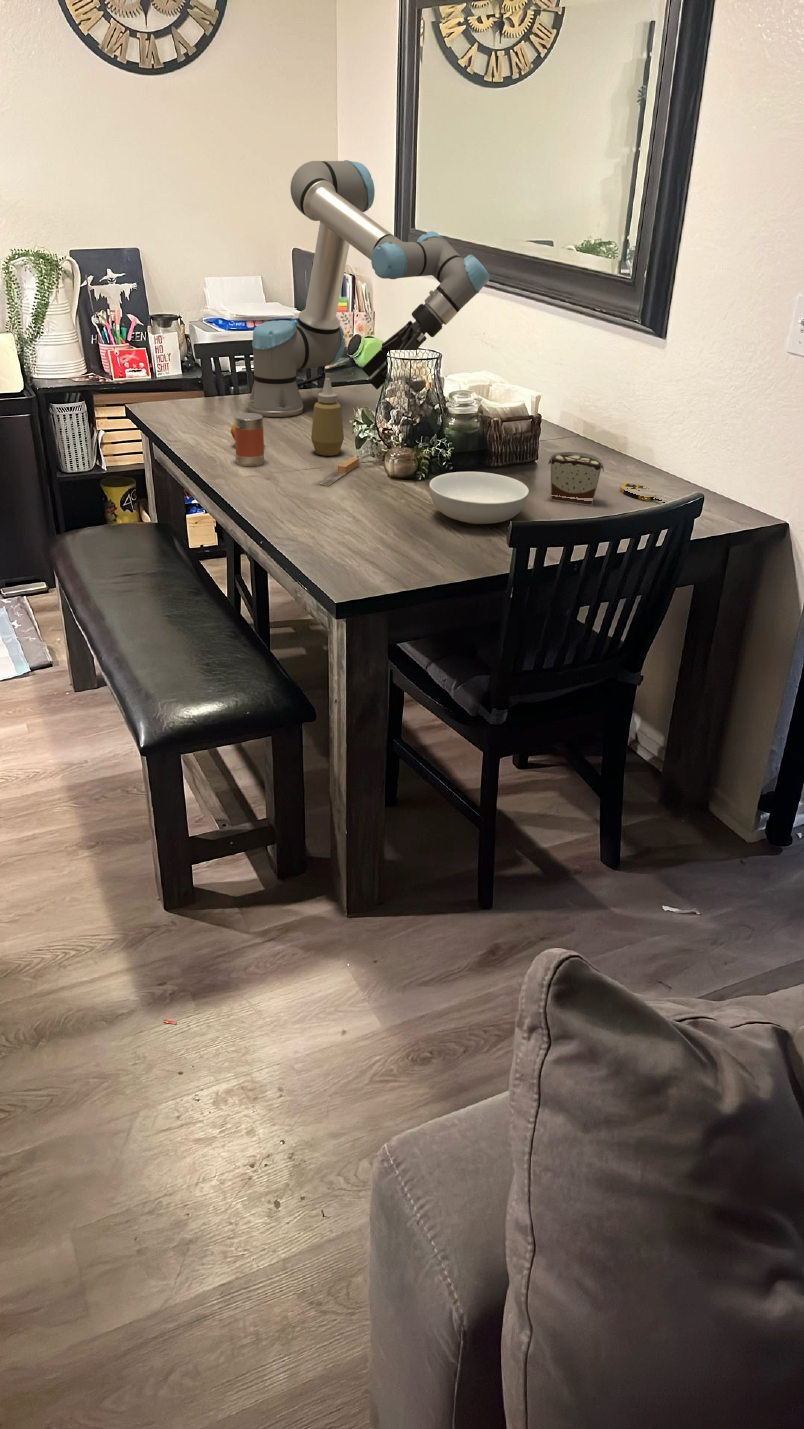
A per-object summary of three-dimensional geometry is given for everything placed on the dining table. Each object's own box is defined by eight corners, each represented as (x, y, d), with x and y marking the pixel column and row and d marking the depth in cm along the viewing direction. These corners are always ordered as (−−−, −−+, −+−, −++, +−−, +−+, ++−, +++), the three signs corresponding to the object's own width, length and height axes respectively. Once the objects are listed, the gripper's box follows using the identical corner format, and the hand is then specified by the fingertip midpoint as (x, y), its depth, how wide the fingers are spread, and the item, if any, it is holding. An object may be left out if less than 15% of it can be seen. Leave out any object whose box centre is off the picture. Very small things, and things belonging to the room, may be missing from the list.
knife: (350, 464, 257) (350, 456, 256) (359, 465, 256) (359, 458, 255) (318, 484, 242) (318, 476, 241) (328, 486, 241) (328, 478, 240)
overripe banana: (631, 480, 247) (680, 498, 237) (630, 488, 248) (678, 506, 238) (616, 483, 245) (665, 501, 234) (615, 491, 246) (663, 510, 235)
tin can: (244, 457, 259) (242, 411, 253) (269, 460, 257) (268, 414, 251) (230, 464, 253) (228, 417, 248) (256, 468, 251) (254, 421, 246)
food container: (603, 499, 241) (609, 455, 236) (598, 507, 235) (604, 462, 230) (549, 491, 244) (554, 448, 239) (544, 499, 239) (548, 455, 234)
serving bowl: (459, 540, 214) (461, 506, 211) (410, 508, 230) (411, 477, 227) (545, 527, 223) (548, 495, 219) (492, 497, 239) (494, 467, 235)
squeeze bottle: (310, 448, 267) (310, 374, 258) (343, 448, 268) (343, 375, 259) (311, 457, 260) (310, 382, 251) (344, 458, 261) (345, 382, 252)
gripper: (413, 294, 261) (352, 357, 266) (432, 311, 239) (365, 379, 244) (434, 317, 264) (372, 378, 269) (454, 335, 243) (387, 402, 248)
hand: (368, 379), depth 257 cm, fingers open, 13 cm apart
